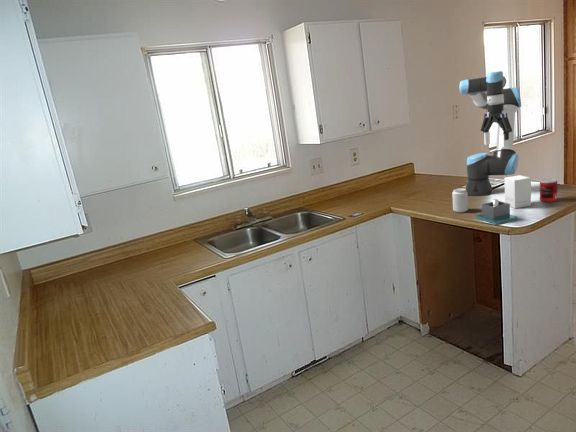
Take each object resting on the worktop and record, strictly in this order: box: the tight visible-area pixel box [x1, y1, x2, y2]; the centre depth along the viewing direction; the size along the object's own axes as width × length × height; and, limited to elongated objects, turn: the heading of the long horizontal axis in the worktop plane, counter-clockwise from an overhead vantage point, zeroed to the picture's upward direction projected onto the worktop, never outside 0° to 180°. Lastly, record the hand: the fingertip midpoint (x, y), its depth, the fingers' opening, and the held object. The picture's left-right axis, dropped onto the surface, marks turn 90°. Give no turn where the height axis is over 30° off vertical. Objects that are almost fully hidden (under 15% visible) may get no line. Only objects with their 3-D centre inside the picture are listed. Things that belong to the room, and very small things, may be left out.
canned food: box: [539, 177, 558, 203], centre depth 220 cm, size 8×8×11 cm
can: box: [451, 187, 469, 214], centre depth 225 cm, size 8×8×12 cm
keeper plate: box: [475, 199, 518, 226], centre depth 206 cm, size 14×12×10 cm
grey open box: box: [481, 200, 511, 220], centre depth 206 cm, size 8×9×6 cm
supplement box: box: [504, 174, 532, 209], centre depth 220 cm, size 9×9×15 cm
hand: (496, 145), depth 221 cm, fingers open, 13 cm apart
